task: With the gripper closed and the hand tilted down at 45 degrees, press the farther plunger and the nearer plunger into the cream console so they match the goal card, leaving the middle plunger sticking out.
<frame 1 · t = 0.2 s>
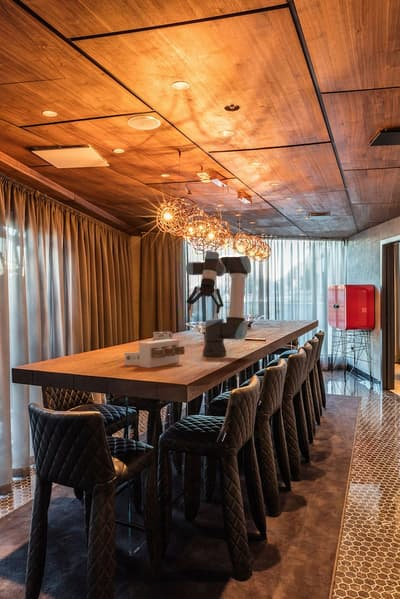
hand: (202, 318, 245), 27 cm above the table, tool tilted 15°, fingers open, 13 cm apart
plunger middle: (166, 351, 256), point 8 cm above the table, slide at 0.0 cm
candy bar box: (162, 359, 279), on the table
plunger 2: (175, 349, 263), point 8 cm above the table, slide at 0.0 cm
goal card: (134, 364, 258), on the table
console: (159, 364, 260), on the table
plunger 1: (156, 353, 250), point 8 cm above the table, slide at 0.0 cm
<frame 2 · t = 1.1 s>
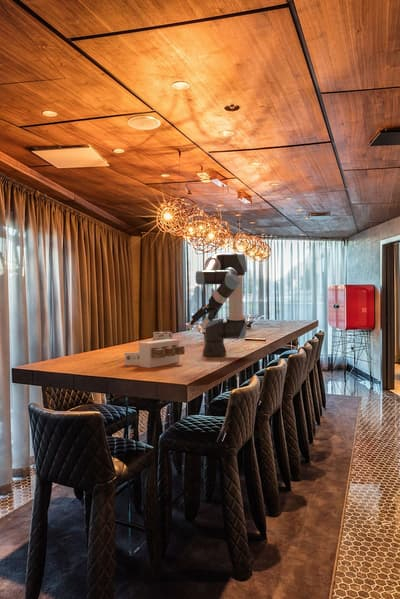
hand: (195, 327, 253), 21 cm above the table, tool tilted 45°, fingers open, 10 cm apart
nothing on the table moved.
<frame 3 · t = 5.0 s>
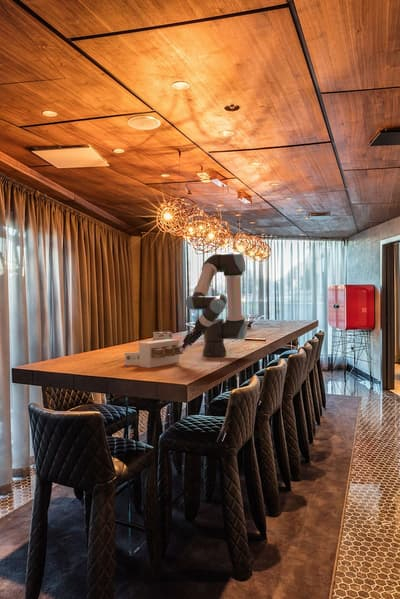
hand: (181, 351, 259), 7 cm above the table, tool tilted 45°, fingers closed
plunger 2: (174, 349, 263), point 8 cm above the table, slide at 1.2 cm, touching gripper
everything else where it was.
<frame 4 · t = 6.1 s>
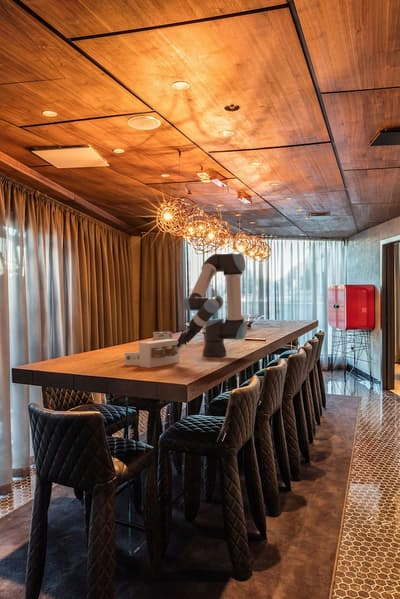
hand: (175, 350, 263), 8 cm above the table, tool tilted 45°, fingers closed
plunger 2: (168, 349, 266), point 8 cm above the table, slide at 5.7 cm, touching gripper
everything else where it was.
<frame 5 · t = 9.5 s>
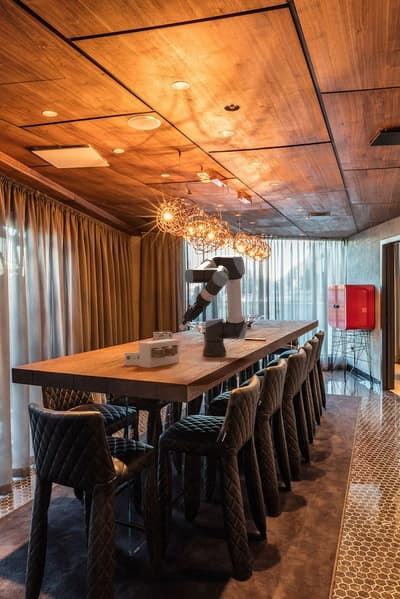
hand: (181, 328, 244), 21 cm above the table, tool tilted 45°, fingers closed
plunger 2: (168, 349, 266), point 8 cm above the table, slide at 6.0 cm
everything else where it was.
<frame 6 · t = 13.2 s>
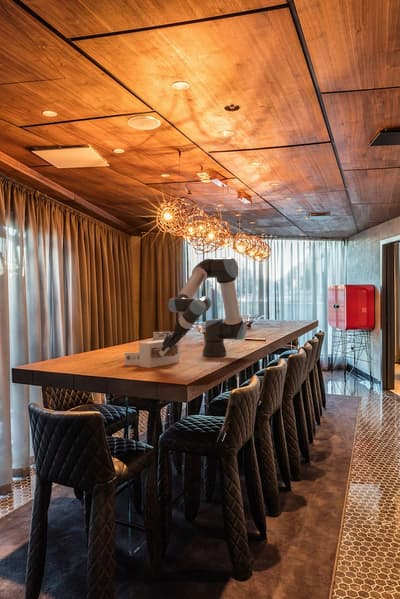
hand: (160, 354, 247), 7 cm above the table, tool tilted 45°, fingers closed
plunger 1: (153, 352, 251), point 8 cm above the table, slide at 1.6 cm, touching gripper
everything else where it was.
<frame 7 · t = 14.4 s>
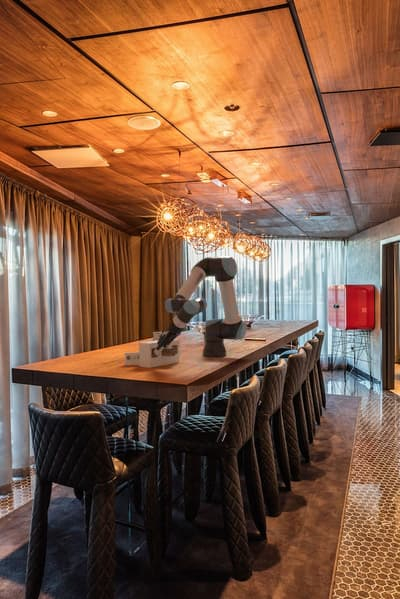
hand: (155, 353, 250), 8 cm above the table, tool tilted 45°, fingers closed
plunger 1: (148, 352, 254), point 8 cm above the table, slide at 5.9 cm, touching gripper
everything else where it was.
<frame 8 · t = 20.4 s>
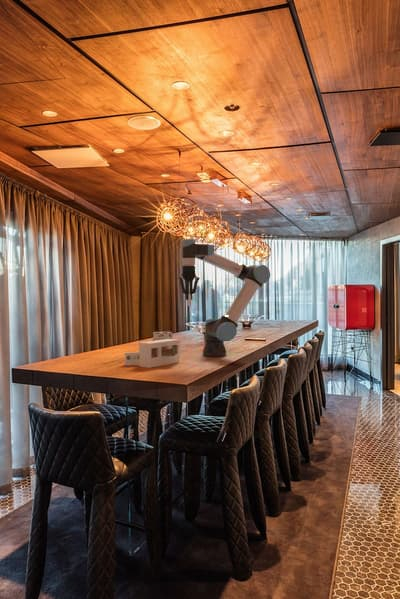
hand: (188, 305, 273), 32 cm above the table, tool pointing down, fingers closed
plunger 1: (148, 352, 254), point 8 cm above the table, slide at 6.0 cm
everything else where it was.
at the end: plunger 2 slide at 6.0 cm; plunger 1 slide at 6.0 cm; plunger middle slide at 0.0 cm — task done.
